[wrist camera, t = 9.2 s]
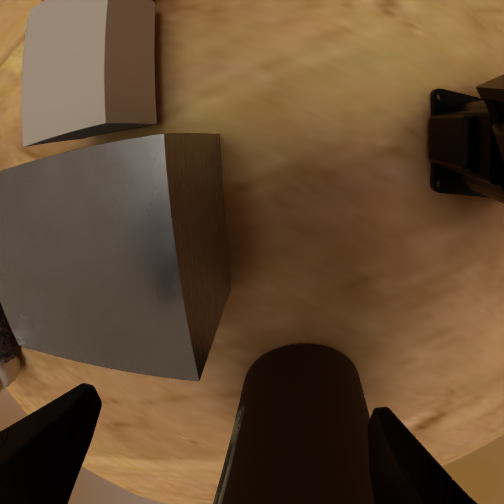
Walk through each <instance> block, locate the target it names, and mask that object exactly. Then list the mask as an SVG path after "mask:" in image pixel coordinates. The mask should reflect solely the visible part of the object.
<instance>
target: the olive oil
mask: <svg viewBox="0 0 504 504" xmlns="http://www.w3.org/2000/svg"><path fill="white" fill-rule="evenodd" d="M369 420H370V417H369V413H368V409H367V405H366V401H365V397H364V394H363V390H362V386H361V382H360V379H359V375H358V372H357V370H356V368H355V366H354V364H353V363H352V362H351V361H350V360H349V359H348V358H347V357H346V356H345V355H343V354H342V353H340V352H338V351H336V350H333V349H330V348H327V347H323V346H317V345H295V346H288V347H284V348H280V349H277V350H275V351H272V352H270V353H268V354H266V355H264V356H263V357H261V358H260V359H259V360H257V361H256V362H255V363H254V364H253V365H252V366H251V368H250V369H249V371H248V373H247V375H246V377H245V381H244V385H243V389H242V394H241V398H240V403H239V407H238V411H237V414H236V419H235V423H234V427H233V431H232V435H231V439H230V443H229V447H228V451H227V455H226V458H225V462H224V466H223V470H222V473H221V477H220V481H219V484H218V488H217V492H216V495H215V499H214V502H213V504H374V498H373V491H372V485H371V478H370V471H369V448H368V423H369Z"/></svg>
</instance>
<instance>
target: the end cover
mask: <svg viewBox="0 0 504 504" xmlns="http://www.w3.org/2000/svg"><path fill="white" fill-rule="evenodd" d="M154 36H155V3H154V2H153V1H152V0H42V2H41V3H40V4H38V5H36V6H35V7H33V8H32V9H30V10H29V14H28V20H27V27H26V34H25V43H24V53H23V66H22V88H21V113H22V137H23V147H26V146H32V145H38V144H45V143H51V142H59V141H67V140H75V139H83V138H87V137H91V136H96V135H100V134H105V133H110V132H114V131H119V130H125V129H130V128H135V127H141V126H147V125H153V124H157V118H156V98H155V58H154Z"/></svg>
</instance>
